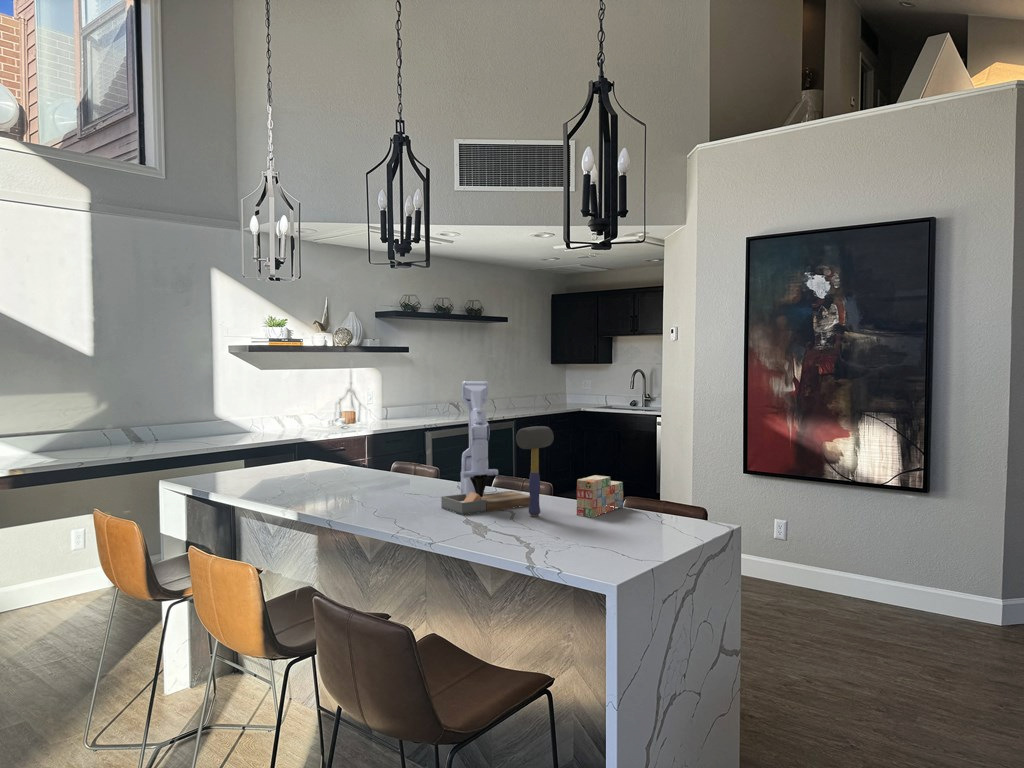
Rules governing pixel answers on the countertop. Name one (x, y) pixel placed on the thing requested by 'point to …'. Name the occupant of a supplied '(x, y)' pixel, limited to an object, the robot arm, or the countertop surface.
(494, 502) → the wooden serving tray
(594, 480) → the stack of blocks
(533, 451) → the rubber mallet
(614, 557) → the countertop surface
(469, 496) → the tile back
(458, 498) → the bin
